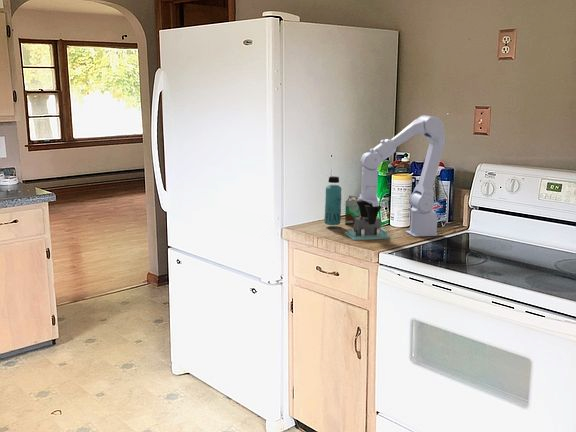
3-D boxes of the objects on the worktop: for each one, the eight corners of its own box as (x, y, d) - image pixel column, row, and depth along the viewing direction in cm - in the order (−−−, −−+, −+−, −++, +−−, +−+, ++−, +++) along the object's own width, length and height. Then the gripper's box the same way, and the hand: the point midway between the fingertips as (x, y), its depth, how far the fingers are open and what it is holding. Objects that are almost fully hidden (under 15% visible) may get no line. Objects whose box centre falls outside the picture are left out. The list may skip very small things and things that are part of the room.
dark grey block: (376, 232, 230) (377, 216, 229) (380, 234, 226) (381, 218, 225) (353, 233, 228) (354, 217, 227) (357, 235, 224) (357, 219, 223)
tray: (379, 231, 234) (380, 223, 233) (390, 238, 224) (390, 229, 223) (344, 233, 230) (345, 224, 230) (353, 240, 221) (354, 231, 220)
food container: (360, 226, 242) (361, 201, 240) (344, 225, 243) (345, 200, 241) (362, 219, 254) (363, 195, 252) (348, 218, 255) (348, 195, 253)
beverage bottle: (322, 228, 238) (324, 177, 234) (325, 224, 244) (326, 175, 240) (339, 229, 237) (341, 178, 232) (341, 225, 243) (343, 175, 239)
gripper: (352, 182, 229) (351, 218, 232) (365, 189, 215) (364, 226, 218) (370, 182, 231) (368, 217, 234) (384, 188, 217) (383, 225, 220)
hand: (368, 221), depth 226 cm, fingers open, 7 cm apart
